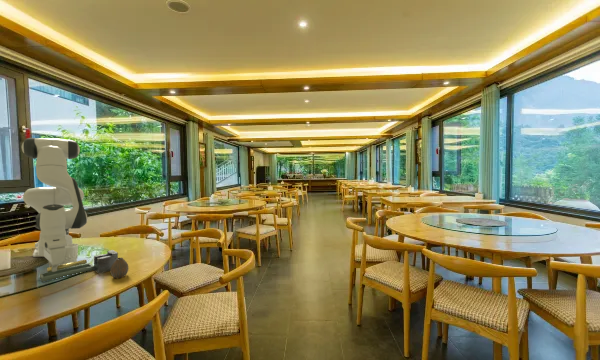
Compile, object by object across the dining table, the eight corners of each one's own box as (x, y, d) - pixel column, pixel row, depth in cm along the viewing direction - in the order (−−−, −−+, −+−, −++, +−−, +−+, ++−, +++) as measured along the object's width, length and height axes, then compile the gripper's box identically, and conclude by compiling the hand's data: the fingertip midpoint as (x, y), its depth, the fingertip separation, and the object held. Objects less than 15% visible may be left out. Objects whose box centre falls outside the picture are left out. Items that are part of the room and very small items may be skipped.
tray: (39, 278, 119) (39, 273, 119) (89, 267, 133) (89, 263, 133) (42, 282, 115) (42, 277, 115) (93, 270, 129) (93, 266, 129)
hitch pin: (48, 272, 118) (47, 268, 118) (47, 271, 119) (46, 267, 119) (86, 263, 129) (86, 259, 129) (85, 263, 130) (85, 259, 130)
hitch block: (93, 269, 130) (93, 253, 130) (112, 265, 136) (112, 250, 136) (98, 273, 126) (98, 256, 125) (117, 268, 132) (117, 252, 132)
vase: (131, 275, 125) (131, 256, 124) (117, 280, 118) (117, 261, 118) (121, 272, 127) (121, 255, 127) (106, 278, 120) (106, 259, 120)
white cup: (66, 268, 131) (66, 248, 131) (53, 266, 133) (53, 247, 133) (82, 262, 139) (82, 244, 139) (70, 261, 141) (70, 243, 140)
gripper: (39, 237, 123) (39, 266, 124) (48, 246, 111) (48, 278, 111) (57, 235, 128) (57, 263, 129) (68, 243, 116) (68, 273, 116)
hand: (53, 270), depth 120 cm, fingers closed on hitch pin, 2 cm apart
